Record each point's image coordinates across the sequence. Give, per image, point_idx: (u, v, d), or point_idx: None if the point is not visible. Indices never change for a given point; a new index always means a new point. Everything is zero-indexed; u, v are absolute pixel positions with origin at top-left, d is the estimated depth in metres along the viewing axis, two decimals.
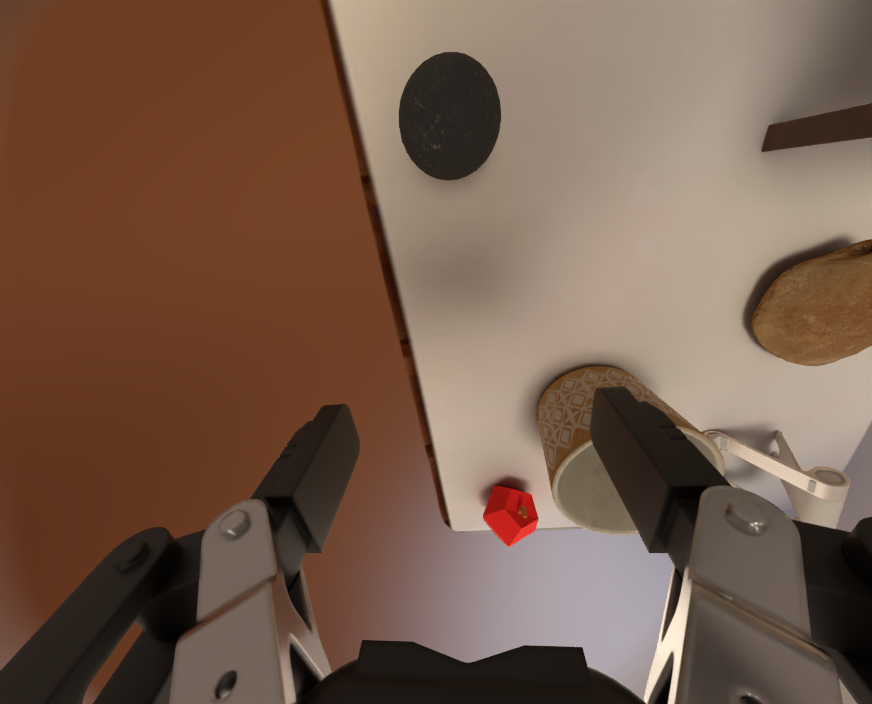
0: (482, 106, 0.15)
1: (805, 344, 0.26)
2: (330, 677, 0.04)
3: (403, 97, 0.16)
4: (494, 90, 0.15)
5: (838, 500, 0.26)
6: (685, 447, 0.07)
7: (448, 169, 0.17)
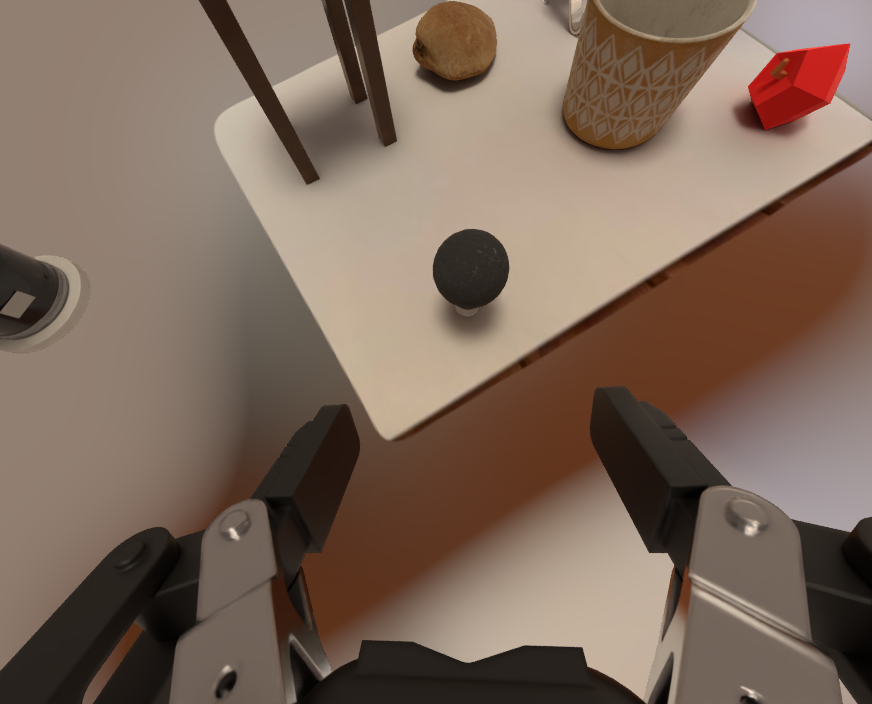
0: (459, 233, 0.21)
1: (483, 30, 0.35)
2: (330, 677, 0.04)
3: (473, 292, 0.21)
4: (445, 240, 0.22)
5: None
6: (685, 447, 0.07)
7: (502, 245, 0.21)
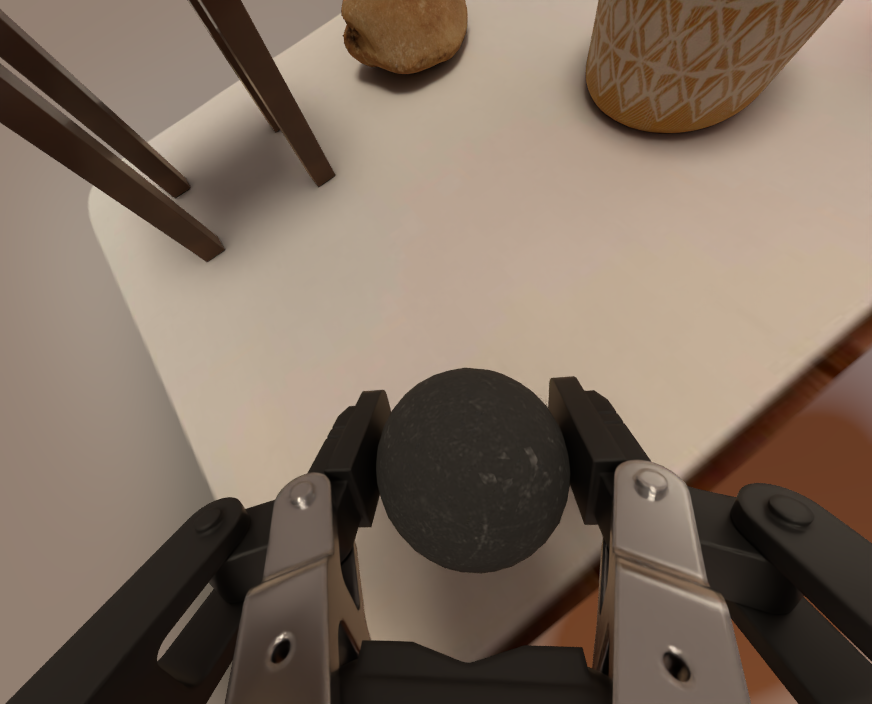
0: (426, 406, 0.08)
1: None
2: (373, 671, 0.04)
3: (485, 570, 0.07)
4: (397, 406, 0.09)
5: None
6: (619, 430, 0.08)
7: (545, 415, 0.08)
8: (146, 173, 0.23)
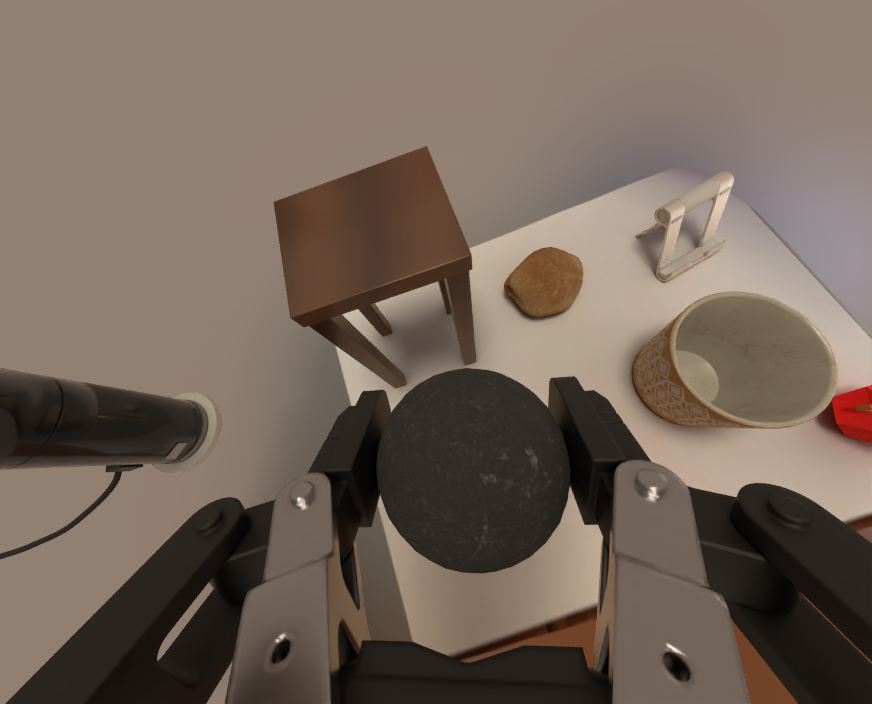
0: (426, 406, 0.08)
1: (570, 281, 0.40)
2: (373, 670, 0.04)
3: (485, 570, 0.07)
4: (397, 406, 0.09)
5: (680, 202, 0.35)
6: (619, 429, 0.08)
7: (545, 416, 0.08)
8: (377, 330, 0.42)
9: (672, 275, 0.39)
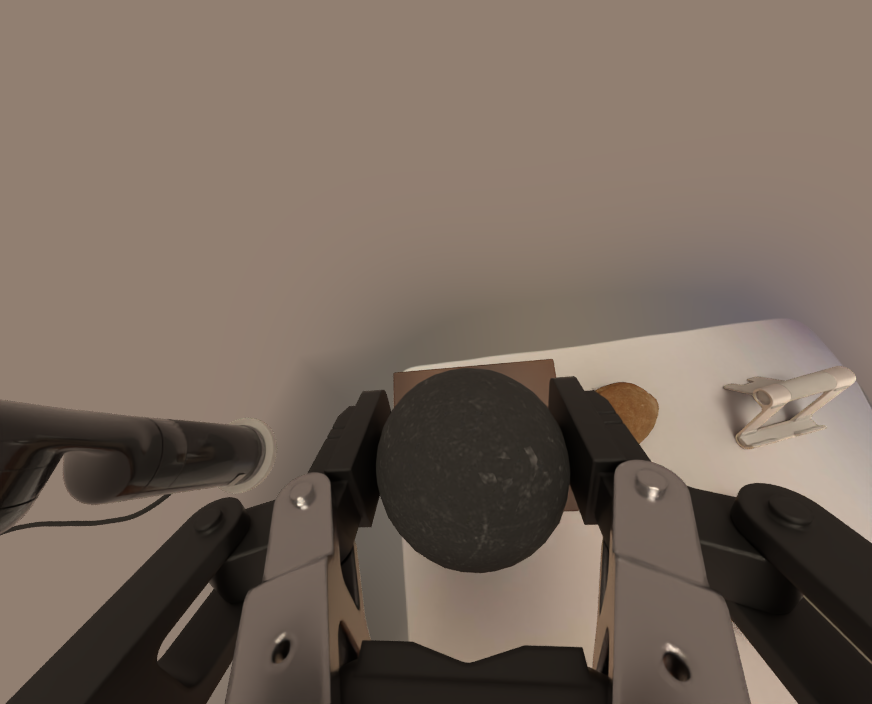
0: (426, 405, 0.08)
1: (643, 426, 0.39)
2: (373, 671, 0.04)
3: (485, 570, 0.07)
4: (397, 405, 0.09)
5: (787, 392, 0.33)
6: (619, 429, 0.08)
7: (545, 415, 0.08)
8: None
9: (754, 447, 0.37)
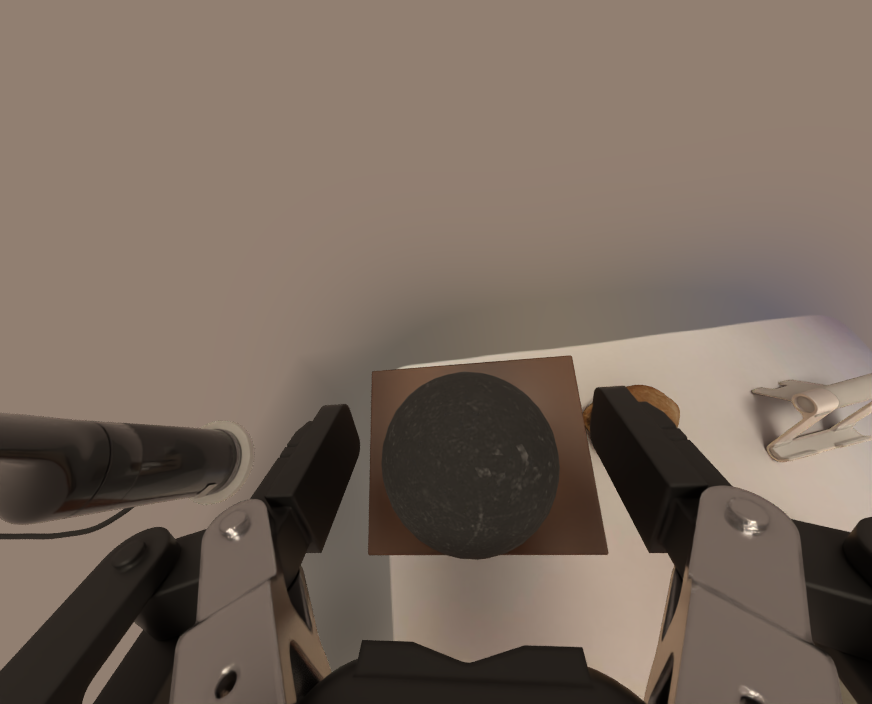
0: (428, 407, 0.09)
1: None
2: (330, 677, 0.04)
3: (481, 556, 0.08)
4: (400, 407, 0.10)
5: (834, 398, 0.28)
6: (685, 447, 0.07)
7: (536, 415, 0.09)
8: None
9: (789, 460, 0.33)
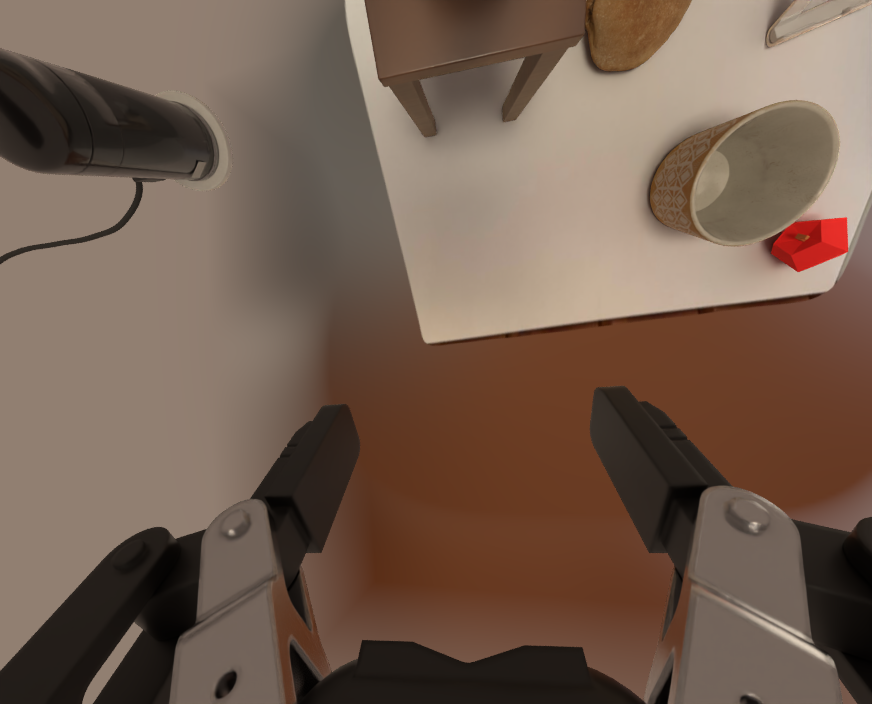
0: None
1: (667, 20, 0.31)
2: (330, 677, 0.04)
3: None
4: None
5: None
6: (685, 447, 0.07)
7: None
8: None
9: (782, 40, 0.32)
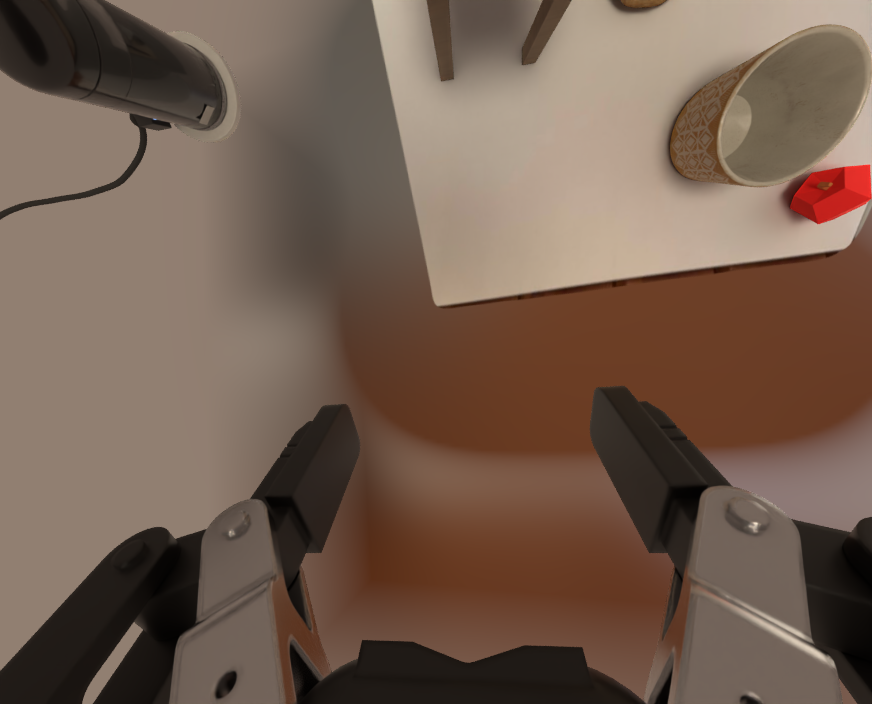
0: None
1: None
2: (330, 677, 0.04)
3: None
4: None
5: None
6: (685, 447, 0.07)
7: None
8: None
9: None
